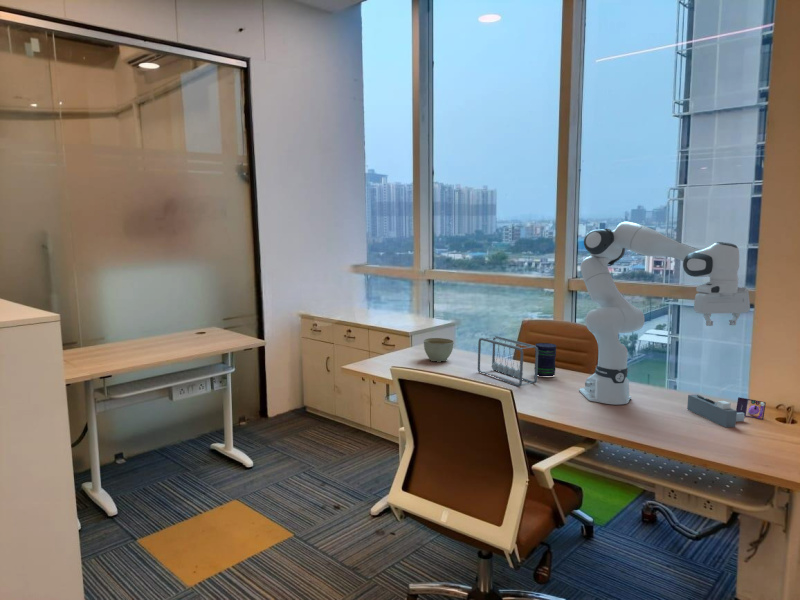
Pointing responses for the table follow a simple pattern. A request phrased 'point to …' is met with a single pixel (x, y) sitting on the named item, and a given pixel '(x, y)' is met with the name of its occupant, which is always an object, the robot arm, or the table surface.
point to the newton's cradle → (507, 369)
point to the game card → (753, 409)
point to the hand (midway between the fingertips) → (720, 325)
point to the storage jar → (546, 359)
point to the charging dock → (714, 410)
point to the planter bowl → (438, 348)
